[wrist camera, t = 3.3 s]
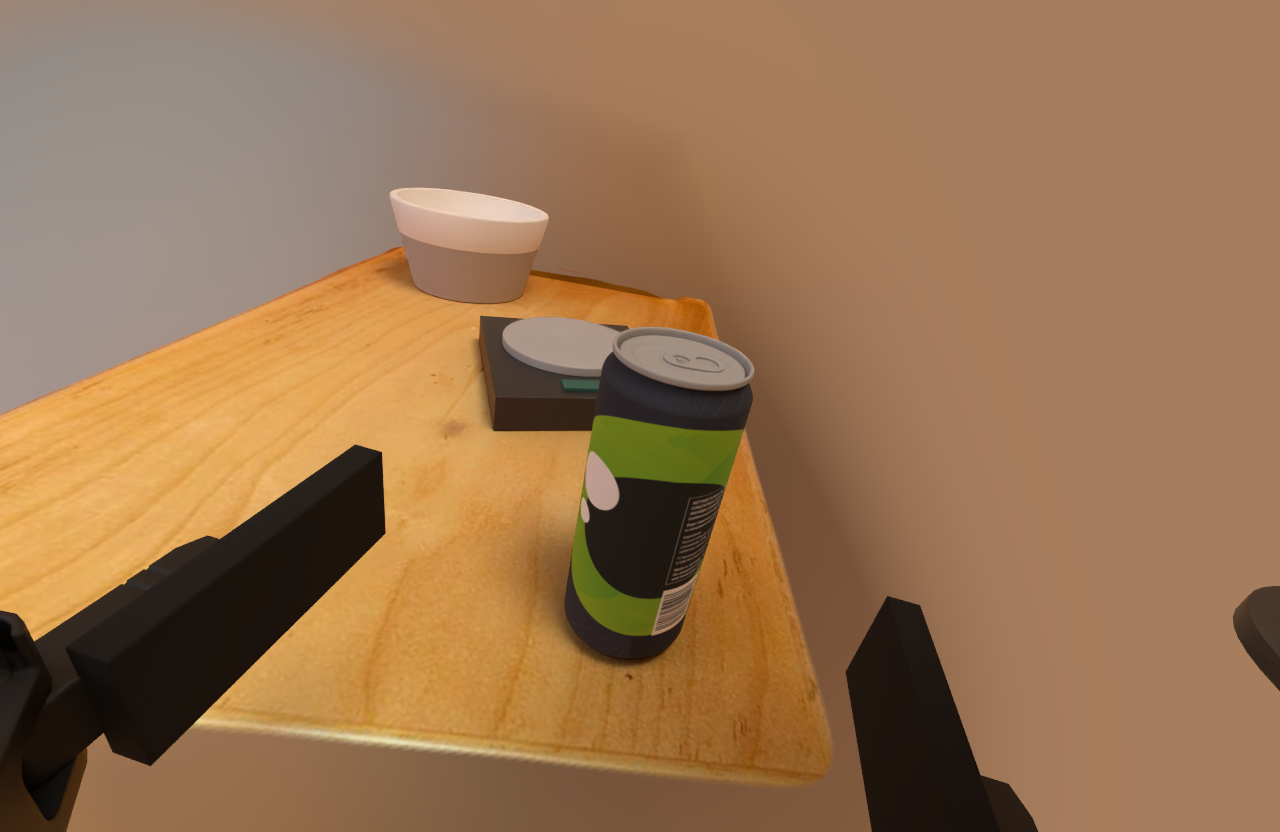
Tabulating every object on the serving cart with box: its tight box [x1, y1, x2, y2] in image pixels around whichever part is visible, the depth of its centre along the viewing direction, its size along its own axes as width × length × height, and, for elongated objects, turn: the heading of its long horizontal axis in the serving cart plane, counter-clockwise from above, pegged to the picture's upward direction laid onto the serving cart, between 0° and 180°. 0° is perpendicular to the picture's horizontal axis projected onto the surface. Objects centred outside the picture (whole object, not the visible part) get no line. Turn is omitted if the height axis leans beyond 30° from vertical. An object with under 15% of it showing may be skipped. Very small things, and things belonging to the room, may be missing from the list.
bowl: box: [389, 188, 549, 303], centre depth 70 cm, size 19×19×11 cm
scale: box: [479, 316, 629, 431], centre depth 51 cm, size 16×18×4 cm
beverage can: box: [564, 327, 754, 659], centre depth 25 cm, size 6×6×15 cm
